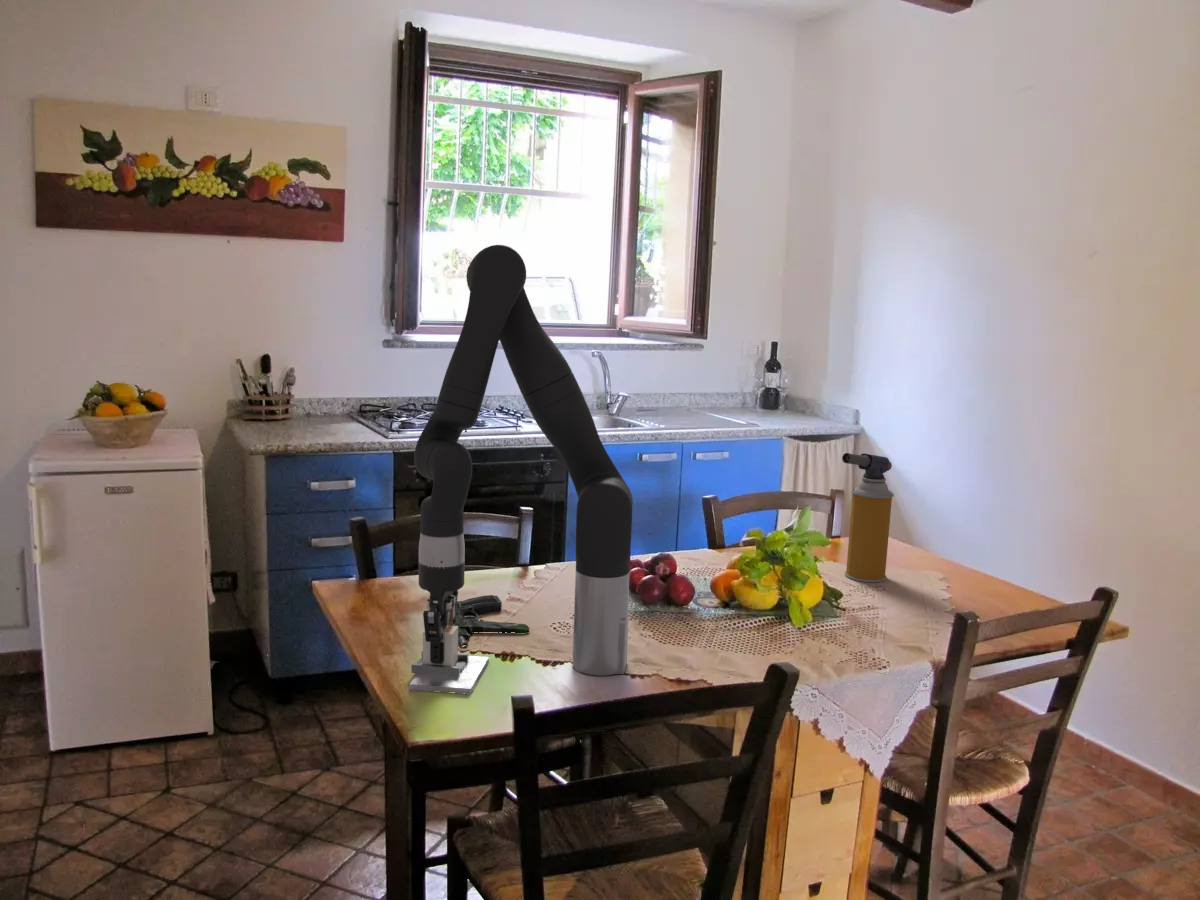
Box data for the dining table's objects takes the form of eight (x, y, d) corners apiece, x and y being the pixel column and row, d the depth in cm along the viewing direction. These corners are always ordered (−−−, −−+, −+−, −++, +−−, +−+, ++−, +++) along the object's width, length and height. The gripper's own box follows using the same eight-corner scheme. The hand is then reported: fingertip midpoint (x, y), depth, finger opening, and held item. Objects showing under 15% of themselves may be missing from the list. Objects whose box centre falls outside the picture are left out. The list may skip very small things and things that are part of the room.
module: (457, 660, 175) (458, 624, 174) (452, 668, 171) (452, 632, 170) (429, 657, 176) (429, 622, 175) (422, 666, 172) (422, 630, 171)
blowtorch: (895, 578, 239) (907, 450, 234) (852, 589, 229) (863, 456, 224) (862, 568, 246) (872, 444, 241) (819, 579, 236) (829, 449, 231)
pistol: (536, 649, 191) (456, 654, 186) (504, 607, 211) (431, 610, 205) (537, 632, 191) (458, 637, 185) (505, 592, 210) (432, 595, 205)
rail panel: (488, 662, 179) (489, 649, 179) (470, 694, 165) (470, 680, 165) (426, 658, 180) (426, 644, 180) (403, 689, 166) (403, 675, 166)
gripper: (453, 572, 163) (452, 675, 166) (473, 549, 177) (472, 644, 180) (407, 569, 164) (406, 672, 167) (430, 546, 178) (430, 641, 181)
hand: (440, 657), depth 174 cm, fingers closed on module, 4 cm apart
